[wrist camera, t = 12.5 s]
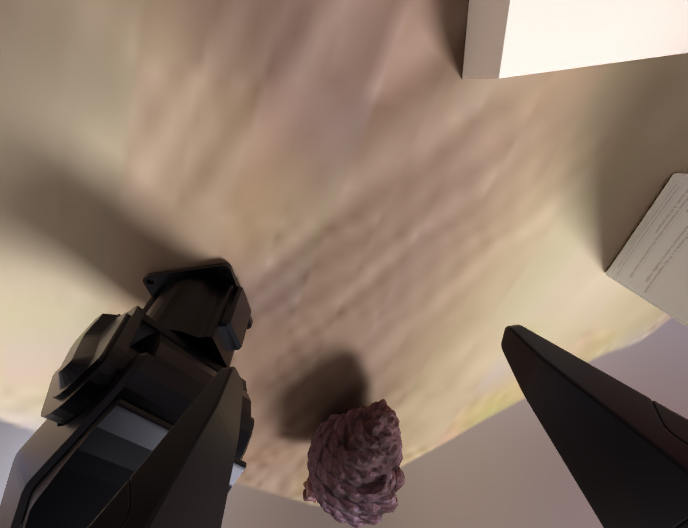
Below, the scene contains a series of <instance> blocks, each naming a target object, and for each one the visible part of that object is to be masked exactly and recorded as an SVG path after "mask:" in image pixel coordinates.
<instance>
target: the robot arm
mask: <svg viewBox="0 0 688 528" xmlns="http://www.w3.org/2000/svg"><path fill="white" fill-rule="evenodd" d="M222 269H226V270H227V271H223V270H222ZM150 279H151V280H153V281H154V282H153V281H151V280H150ZM143 282H144V284H145V286H146V288H147V289H148V291H149V293H150V294H151V296H152V297H151V299H150V300H149V301H148V303H147V304H146V305H145V307H144V308H143V309H142V308H140V307H139V306H136V307H134V308H133V309H132V310H130V311H129V312H127V313H124V314H123V315H120V314H118V315H112V314H102V315H100V316H99V317H98V318H96V319H95V320H94V321H93V322H92V323H91V325H90V326H89V327H88V328H87V329H86V330H85V331H84V332H83V333H82V334H81V335H80V337H79V338H78V339H77V340H76V341H75V343H74V344H73V345H72V347H71V349H70V351H69V352H68V354H67V356H66V358H65V360H64V362H63V364H62V365H61V367H60V368H59V369H58V370H57V371H56V372H55V374H54V375H53V377H52V380H51V383H50V387H49V390H48V393H47V396H46V399H45V402H44V405H43V409H42V412H41V417H44V418H46V419H47V420H46V421H45V422H44V423H43V424H42V425H41V427H40V428H39V429H38V430H37V431H36V432H35V433H34V434H33V436H32V437H31V438H30V439H29V440H28V441H27V442H26V443H25V445H24V446H23V447H22V448H21V449H20V450H19V452H18V453H17V454H16V456H15V458H14V461H13V464H12V467H11V471H10V474H9V478H8V481H7V485H6V488H5V491H4V495H3V498H2V501H1V505H0V528H221V524H222V519H223V514H224V509H225V504H226V499H227V494H228V492H229V490H230V489H231V487H232V485H233V484H234V483H235V481H236V480H237V479H238V477H239V476H240V475H241V473H242V472H243V471H244V469H245V468H246V462H244V461H242V458H243V456H244V454H245V451H246V449H247V446H248V443H249V440H250V438H251V435H252V431H253V427H254V419H253V418H252V417H251V400H250V398H249V396H248V394H247V390H246V381H245V380H243V379H242V378H241V377H240V376H239V374H238V372H237V370H236V368H235V367H230V364H231V360H232V357H233V354H234V350H239V349H240V348H241V347H242V344H243V340H244V336H245V333H246V329H249V328H251V326H252V319H251V316H250V314H251V309H250V306H249V303H248V301H247V298H246V295H245V293H244V290H243V288H242V287H241V286H239V285H238V282H237V279H236V277H235V274H234V272H233V269H232V267H231V265H229V264H227V263H219V264H212V265H205V266H198V267H191V268H184V269H177V270H170V271H163V272H156V273H149V274H147V275H146V276H145V277H144V279H143ZM501 346H502V350H503V352H504V354H505V356H506V359H507V361H508V363H509V365H510V367H511V369H512V371H513V373H514V376H515V378H516V380H517V382H518V384H519V386H520V388H521V390H522V392H523V394H524V396H525V397H526V399H527V401H528V402H529V404H530V406H531V408H532V409H533V411H534V412H535V414H536V416H537V417H538V419H539V421H540V423H541V424H542V426H543V428H544V429H545V431H546V433H547V434H548V436H549V437H550V439H551V441H552V443H553V444H554V446H555V447H556V449H557V451H558V452H559V454H560V456H561V457H562V459H563V461H564V462H565V464H566V466H567V467H568V469H569V471H570V472H571V474H572V476H573V477H574V479H575V481H576V482H577V484H578V486H579V487H580V489H581V491H582V492H583V494H584V496H585V497H586V499H587V501H588V502H589V504H590V505H591V507H592V509H593V510H594V512H595V514H596V516H597V517H598V519H599V520H600V522H601V524H602V526H603V527H604V528H688V419H686V418H684V417H682V416H681V415H679V414H677V413H675V412H673V411H671V410H669V409H668V408H666V407H664V406H663V405H661V404H659V403H657V402H656V401H651V399H650V398H648V397H647V396H645V395H643V394H641V393H639V392H638V391H636V390H634V389H632V388H630V387H629V386H627V385H625V384H623V383H622V382H620V381H618V380H616V379H615V378H613V377H611V376H609V375H608V374H606V373H604V372H602V371H600V370H599V369H597V368H595V367H594V366H592V365H590V364H588V363H587V362H585V361H583V360H581V359H579V358H578V357H576V356H574V355H572V354H571V353H569V352H567V351H565V350H564V349H562V348H560V347H558V346H557V345H555V344H553V343H551V342H549V341H548V340H546V339H544V338H542V337H541V336H539V335H537V334H535V333H534V332H532V331H530V330H528V329H527V328H525V327H523V326H521V325H512V326H507V327H506V328H505V331H504V335H503V339H502V343H501Z"/></svg>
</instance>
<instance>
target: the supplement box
mask: <svg viewBox="0 0 688 528" xmlns="http://www.w3.org/2000/svg"><path fill="white" fill-rule="evenodd" d="M606 275H607V276H609V277H610V278H612V279H613V280H615V281H617V282H618V283H620V284H621V285H623V286H624V287H626V288H627V289H629V290H631V291H632V292H634V293H635V294H637V295H638V296H640V297H641V298H643V299H645V300H646V301H648V302H649V303H651V304H652V305H654V306H655V307H657V308H659V309H660V310H662V311H663V312H665V313H666V314H668V315H669V316H671V317H673V318H674V319H676V320H677V321H679V322H680V323H682V324H683V325H685V326H687V327H688V174H685V173H675V174H673V175H672V177H671V178H670V180H669V181H668V183H667V184H666V186H665V187H664V189H663V190H662V192H661V193H660V195H659V196H658V198H657V199H656V200H655V202H654V203H653V205H652V206H651V208H650V209H649V211H648V212H647V214H646V215H645V217H644V218H643V220H642V221H641V223H640V224H639V225H638V227H637V228H636V230H635V231H634V233H633V234H632V236H631V237H630V239H629V240H628V241H627V243H626V244H625V246H624V247H623V249H622V251H621V252H620V253H619V255H618V256H617V258H616V259H615V261H614V262H613V263H612V265H611V266H610V268H609V269H608V271H607V272H606Z"/></svg>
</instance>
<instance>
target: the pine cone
mask: <svg viewBox="0 0 688 528" xmlns="http://www.w3.org/2000/svg"><path fill="white" fill-rule="evenodd" d="M400 434H401V432H400V429H399V420H398V418H397V417H396V413H395V411H393V410H391V408H390V407H389V406H387V403H386V401H385V400H384V399H382V400H380V401H379V402H374V403H372V404H371V405H370V406H362V407H359V408H358V409H351V410H349V411H348V412H347V414H340V415H339V414H334V415H330V417H329V418H328V420H327V421H323V422H322V423H321V424H320V425H319V427H318V428H317V430H316V434H315V435H314V436H313V438H312V440H311V446H310V448H309V451H308V463H307V465H308V470H309V477H308V479H307V481H305V482H304V484H303V485H304V487H305V489H304V491H303V499H304V500H305V501H313V502H314V503H315V502H316V500H317V503H319V504H320V506H321V507H322V508H323V510H324V511H325V512H327V513H329V514H330V515H332V517H333V518H334V519H335V520H336V521H338V522H340V523H341V522H347V523H348V524H350V525H351V526H353V527H355V528H359V527H361V526H363V525H364V524H371V525H376V524H377V523H379V522H380V521H381V519H382V514H384V513H390V512H394V510H395V509H396V507H397V505H398V501H397V497H396V495H395V492H396V491H397V490H398V489H400V488H401V487H402V486H403V484H404V479H405V476H404V473H403V472H402V470H401V469H400V467H399V465H400V463H401V461H402V459H403V456H402V450H401V449H402V442H401V441H402V440H401V436H400Z"/></svg>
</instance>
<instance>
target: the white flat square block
mask: <svg viewBox="0 0 688 528" xmlns="http://www.w3.org/2000/svg"><path fill="white" fill-rule="evenodd" d="M683 53H688V0H469V7H468V18H467V29H466V41H465V52H464V64H463V75H462V79H492V78H505V77H512V76H520V75H527V74H535V73H542V72H549V71H557V70H564V69H572V68H579V67H586V66H594V65H601V64H609V63H616V62H623V61H631V60H638V59H646V58H653V57H660V56H668V55H675V54H683Z"/></svg>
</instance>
